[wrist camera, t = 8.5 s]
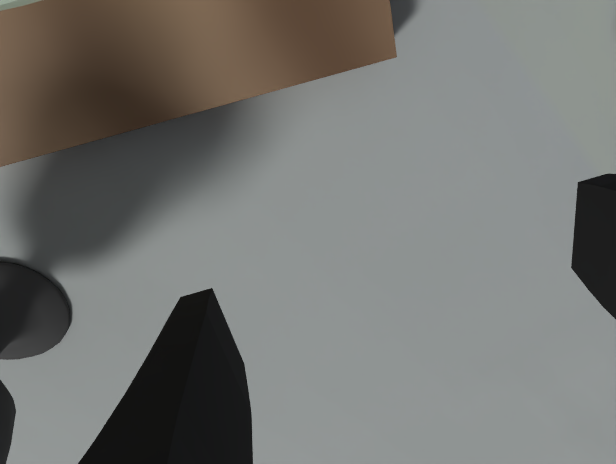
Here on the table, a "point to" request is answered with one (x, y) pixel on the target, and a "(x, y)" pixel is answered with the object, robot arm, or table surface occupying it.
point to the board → (165, 60)
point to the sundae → (26, 329)
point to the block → (14, 3)
